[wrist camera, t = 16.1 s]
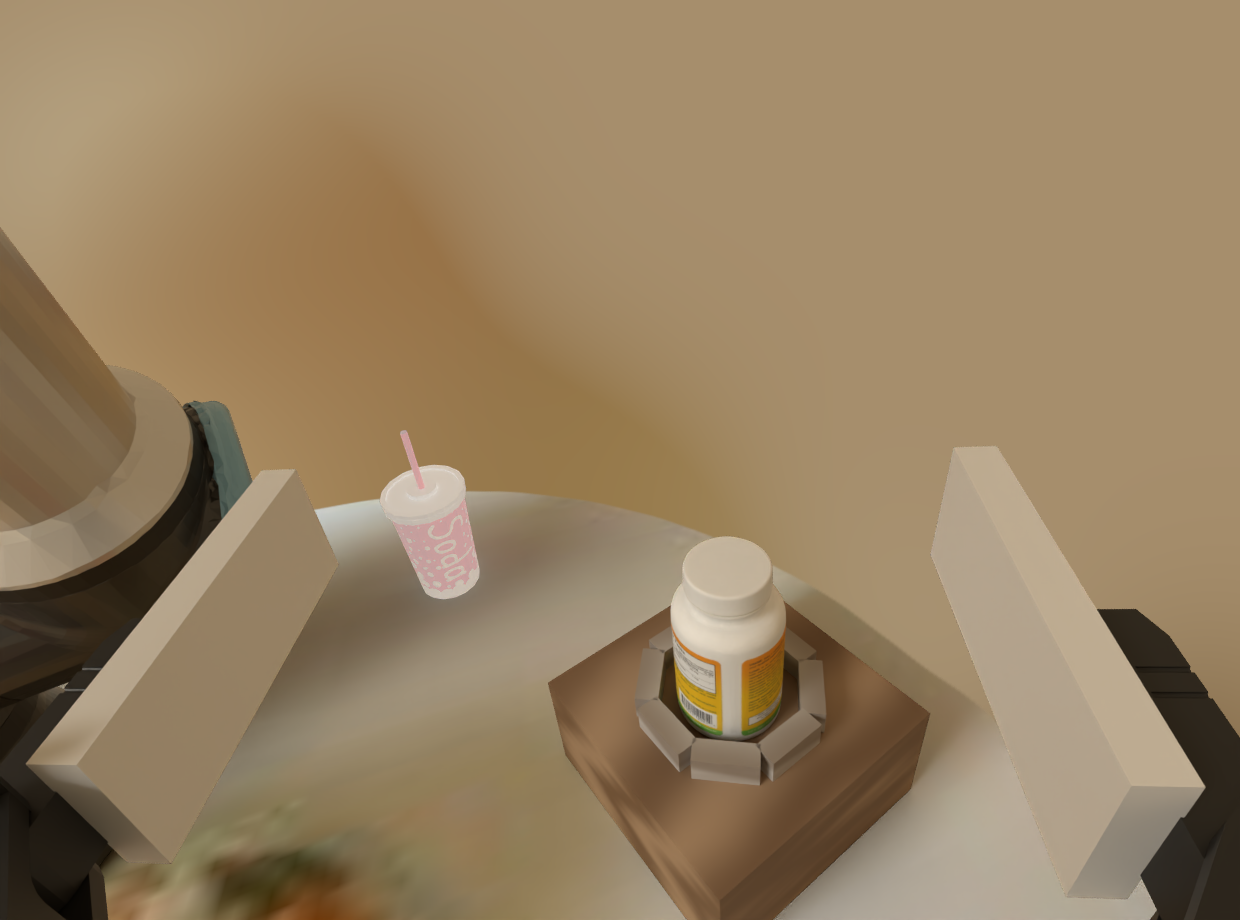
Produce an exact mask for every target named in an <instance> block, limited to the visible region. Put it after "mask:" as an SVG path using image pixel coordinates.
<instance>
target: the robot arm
mask: <svg viewBox="0 0 1240 920" xmlns="http://www.w3.org/2000/svg"><path fill="white" fill-rule="evenodd" d="M930 555H931V558H932V560H933V563H934V565H935V568H936V570H937V573H938V575H939V578H940V580H941V583H942V586H943V588H944V590H945V593H946V596H947V598H948V600H949V603H950V606H951V608H952V611H953V613H954V616H955V618H956V621H957V623H958V626H959V629H960V631H961V633H962V636H963V639H964V641H965V644H966V646H967V649H968V651H969V654H970V656H971V659H972V661H973V664H974V666H975V669H976V671H977V674H978V677H979V679H980V682H981V684H982V686H983V689H984V691H985V694H986V697H987V699H988V702H989V704H990V707H991V709H992V712H993V714H994V717H995V720H996V722H997V725H998V727H999V730H1000V732H1001V735H1002V737H1003V740H1004V742H1005V745H1006V747H1007V750H1008V752H1009V755H1010V757H1011V760H1012V762H1013V765H1014V768H1015V770H1016V773H1017V775H1018V778H1019V780H1020V783H1021V785H1022V788H1023V790H1024V793H1025V795H1026V798H1027V800H1028V803H1029V805H1030V808H1031V811H1032V813H1033V816H1034V818H1035V821H1036V823H1037V826H1038V828H1039V831H1040V833H1041V836H1042V838H1043V841H1044V843H1045V846H1046V848H1047V851H1048V853H1049V856H1050V859H1051V861H1052V864H1053V866H1054V869H1055V871H1056V874H1057V876H1058V879H1059V881H1060V884H1061V886H1062V889H1063V891H1064V894H1065V896H1066V897H1076V898H1103V899H1128V897H1129V896H1130V894H1131V893H1132V892H1133V890H1134V889H1135V887H1136V886H1137V884H1138V883H1139V882H1140V880H1141V879H1142V880H1143V882H1144V884H1145V886H1146V888H1147V890H1148V892H1149V894H1150V896H1151V898H1152V901H1153V903H1154V905H1155V907H1156V909H1157V911H1156V912H1155V914H1154V915H1153V916H1152V918H1151V919H1150V920H1240V737H1239V736H1238V735H1237V733H1236V732H1235V730H1234V729H1233V728H1232V726H1231V724H1230V723H1229V722H1228V720H1227V719H1226V718H1225V716H1224V714H1223V713H1222V711H1221V710H1220V709H1219V707H1218V706H1217V704H1216V703H1215V701H1214V700H1213V699H1210V698H1209V697H1208V691H1207V690H1206V688H1205V687H1204V685H1203V684H1202V682H1201V681H1200V680H1199V678H1198V677H1197V675H1196V674H1195V673H1192V672H1191V670H1190V665H1189V664H1188V662H1187V661H1186V659H1185V658H1184V657H1183V655H1182V654H1181V652H1180V651H1179V649H1178V648H1177V647H1176V645H1175V644H1174V642H1173V641H1172V639H1171V638H1170V636H1169V635H1168V634H1166V633H1165V632H1164V631H1162V630H1161V629H1160V628H1159V627H1158V626H1156V625H1155V624H1154V623H1153V622H1151V621H1150V620H1149V619H1148V618H1146V617H1145V616H1144V615H1143V614H1141V613H1140V612H1139V611H1138V610H1136V609H1096V607H1095V606H1094V604H1093V602H1092V601H1091V599H1090V598H1089V596H1088V594H1087V593H1086V591H1085V590H1084V588H1083V586H1082V585H1081V583H1080V581H1079V580H1078V578H1077V576H1076V575H1075V573H1074V571H1073V570H1072V568H1071V567H1070V565H1069V563H1068V562H1067V560H1066V558H1065V557H1064V555H1063V553H1062V552H1061V550H1060V549H1059V547H1058V545H1057V544H1056V542H1055V540H1054V539H1053V537H1052V536H1051V534H1050V532H1049V531H1048V529H1047V527H1046V526H1045V524H1044V523H1043V521H1042V519H1041V518H1040V516H1039V514H1038V513H1037V511H1036V509H1035V508H1034V506H1033V505H1032V503H1031V501H1030V500H1029V498H1028V496H1027V495H1026V493H1025V491H1024V490H1023V488H1022V487H1021V485H1020V483H1019V482H1018V480H1017V478H1016V477H1015V475H1014V474H1013V472H1012V470H1011V469H1010V467H1009V465H1008V464H1007V462H1006V460H1005V459H1004V457H1003V455H1002V454H1001V452H1000V451H999V449H998V447H997V446H978V447H954V448H953V452H952V457H951V461H950V466H949V471H948V475H947V480H946V485H945V489H944V494H943V499H942V503H941V508H940V513H939V517H938V522H937V527H936V531H935V536H934V540H933V545H932V550H931V554H930ZM338 565H339V564H338V562H337V560H336V557H335V555H334V553H333V551H332V548H331V546H330V544H329V542H328V540H327V537H326V535H325V533H324V531H323V528H322V526H321V524H320V522H319V520H318V517H317V515H316V513H315V511H314V508H313V506H312V504H311V502H310V499H309V497H308V495H307V493H306V491H305V488H304V486H303V484H302V482H301V480H300V477H299V475H298V473H297V471H296V469H289V470H262V471H261V472H260V473H259V474H258V476H257V477H256V478H255V479H254V481H253V482H252V478H251V475H250V472H249V469H248V466H247V463H246V460H245V457H244V454H243V451H242V448H241V444H240V441H239V438H238V435H237V432H236V429H235V426H234V423H233V420H232V417H231V414H230V412H229V410H228V409H227V407H226V406H225V405H224V404H222V403H220V402H217V401H209V402H203V403H200V402H197V401H194V402H191V403H186V404H185V405H184V406H183V407H182V406H181V404H179V402H178V401H177V400H176V398H175V397H174V396H173V395H172V393H171V392H169V391H168V390H167V389H166V388H165V387H163V386H162V385H161V384H160V383H158V382H156V381H154V380H153V379H151V378H149V377H147V376H145V375H142V374H140V373H138V372H135V371H132V370H129V369H125V368H121V367H117V366H110V365H105V364H104V362H103V361H102V360H101V358H100V357H99V356H98V354H97V353H96V352H95V350H94V349H93V348H92V347H91V345H90V344H89V343H88V341H87V340H86V339H85V337H84V336H83V335H82V333H81V332H80V331H79V330H78V328H77V327H76V326H75V324H74V323H73V322H72V320H71V319H70V318H69V316H68V315H67V314H66V313H65V311H64V310H63V309H62V307H61V306H60V305H59V303H58V302H57V301H56V300H55V298H54V297H53V296H52V294H51V293H50V292H49V290H48V289H47V288H46V286H45V285H44V284H43V283H42V281H41V280H40V279H39V277H38V276H37V275H36V273H35V272H34V271H33V270H32V268H31V267H30V266H29V265H28V263H27V262H26V261H25V259H24V258H23V256H22V255H21V254H20V253H19V251H18V250H17V249H16V247H15V246H14V245H13V243H12V242H11V241H10V239H9V238H8V237H7V235H6V234H5V233H4V232H3V230H2V229H1V228H0V920H108V914H107V903H106V893H105V883H104V876H103V874H102V872H101V869H100V867H99V865H100V864H101V863H102V861H103V860H104V859H105V858H106V856H107V855H108V854H109V852H110V851H111V850H112V848H113V849H114V850H115V851H116V852H117V853H118V854H119V855H120V856H121V857H122V858H123V859H124V860H125V861H126V862H134V863H161V864H172V862H173V860H174V858H175V857H176V855H177V853H178V851H179V849H180V848H181V846H182V844H183V842H184V840H185V839H186V837H187V835H188V833H189V831H190V830H191V828H192V826H193V824H194V823H195V821H196V819H197V817H198V815H199V814H200V812H201V810H202V808H203V806H204V805H205V803H206V801H207V799H208V798H209V796H210V794H211V792H212V790H213V789H214V787H215V785H216V783H217V781H218V780H219V778H220V776H221V774H222V773H223V771H224V769H225V767H226V765H227V764H228V762H229V760H230V758H231V756H232V755H233V753H234V751H235V749H236V747H237V746H238V744H239V742H240V740H241V739H242V737H243V735H244V733H245V731H246V730H247V728H248V726H249V724H250V722H251V721H252V719H253V717H254V715H255V714H256V712H257V710H258V708H259V706H260V705H261V703H262V701H263V699H264V697H265V696H266V694H267V692H268V690H269V688H270V687H271V685H272V683H273V681H274V680H275V678H276V676H277V674H278V672H279V671H280V669H281V667H282V665H283V663H284V662H285V660H286V658H287V656H288V655H289V653H290V651H291V649H292V647H293V646H294V644H295V642H296V640H297V638H298V637H299V635H300V633H301V631H302V629H303V628H304V626H305V624H306V622H307V621H308V619H309V617H310V615H311V613H312V612H313V610H314V608H315V606H316V604H317V603H318V601H319V599H320V597H321V596H322V594H323V592H324V590H325V588H326V587H327V585H328V583H329V581H330V579H331V578H332V576H333V574H334V572H335V571H336V569H337V567H338ZM68 682H69V683H68ZM65 683H68V684H67V685H66V686H65V689H62V688H60V687H58V686H60V685H62V684H65Z"/></svg>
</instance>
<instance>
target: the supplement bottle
mask: <svg viewBox="0 0 1240 920" xmlns="http://www.w3.org/2000/svg"><path fill="white" fill-rule="evenodd" d="M671 628H672V639H673V652H674V663H675V675H676V688H677V698H678V703H679V707H680V709H681V711H682V713H683V715H684V717H685V718H686V720H687V721H688V722H689V724H690V725H691V726H692V727H693V728H695V729H696V730H697V731H699V732H700V733H702V734H703V735H705V736H707V737H709V738H712V739H715V740H723V741H734V742H737V741H743V740H748V739H751V738H753V737H756V736H758V735H759V734H761V733H762V732H764V731H765V730H766V729H768V728H769V727H770V726H771V725H772V723H773V722H774V721H775V719H776V717H777V715H778V713H779V710H780V706H781V698H782V682H783V665H784V648H785V632H786V610H785V605H784V601H783V599H782V596H781V595H780V593H779V591H778V590H777V589H776V587H775V586H774V585H773V568H772V563H771V560H770V558H769V556H768V554H767V553H766V552H765V551H764V550H763V549H762V548H761V547H760V546H758V545H757V544H755V543H753V542H751V541H748V540H746V539H742V538H738V537H729V536H724V537H715V538H711V539H708V540H705V541H703V542H701V543H699V544H697V545H696V546H694V547H693V548H692V549H691V550H690V551H689V552H688V554H687V555H686V557H685V559H684V562H683V582H682V583H681V584H680V585H679V587H678V588H677V590H676V591H675V594H674V596H673V599H672V603H671Z"/></svg>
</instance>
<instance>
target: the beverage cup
mask: <svg viewBox="0 0 1240 920" xmlns="http://www.w3.org/2000/svg"><path fill="white" fill-rule="evenodd" d="M400 434H401V437H402V441H403V443H404V446H405V450H406V452H407V456H408V458H409V461H410V465H411V468H412V470H410V471H407V472H404V473H402V474H401V475H399V476H398V477H396V478H395V479H393V480H392V481H390V482H389V484H388V485H387V486H386V487H385V488H384V490H383V491H382V493H381V498H380V504H381V506H382V508H383V510H384V512H385V514H386V516H387V518H388V519H390V520H391V521H392V522H393V524H394V526H395V528H396V530H397V532H398V535H399V537H400V539H401V541H402V543H403V545H404V548H405V550H406V552H407V554H408V556H409V558H410V561H411V563H412V565H413V567H414V569H415V571H416V574H417V576H418V578H419V580H420V582H421V584H422V587H423V589H424V591H425V593H426V594H428V595H430V596H431V597H433V598H438V599H448V598H454V597H457V596H459V595H461V594H464V593H466V592H467V591H468V590H469V589H471V588H472V587H473V586H474V585H475V583H476V582H477V580H478V578H479V565H478V560H477V555H476V550H475V545H474V540H473V535H472V531H471V526H470V521H469V516H468V511H467V506H466V501H465V494H466V486H465V481H464V478H463V477H462V475H461V474H460V472H459V471H458V470H456V469H453V468H451V467H449V466H441V465H430V466H423V467H418V464H417V461H416V458H415V455H414V452H413V448H412V445H411V442H410V439H409V436H408V433H407V431H406V430H404V431H401V432H400Z"/></svg>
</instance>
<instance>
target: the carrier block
mask: <svg viewBox="0 0 1240 920" xmlns="http://www.w3.org/2000/svg"><path fill="white" fill-rule="evenodd" d="M784 605H785V610H786V632H785V648H784V665H783V682H782V698H781V706H780V710H779V713H778V715H777V717H776V719H775V721H774V722H773V723H772V725H771V726H770V727H769V728H768V729H766V730H765V731H764V732H762V733H761V734H759V735H758V736H756V737H753V738H751V739H748V740H743V741H737V742H734V741H723V740H715V739H712V738H709V737H707V736H705V735H703V734H702V733H700V732H699V731H697V730H696V729H695V728H693V727H692V726H691V725H690V724H689V722H688V721H687V720H686V718H685V717H684V715H683V713H682V711H681V709H680V707H679V703H678V698H677V688H676V675H675V663H674V652H673V639H672V628H671V606H669V607H668V608H666V609H665V610H663V611H661V612H660V613H658V614H657V615H655V616H653V617H652V618H650V619H649V620H647V621H645V622H644V623H642V624H641V625H639V626H637V627H636V628H634V629H633V630H631V631H630V632H628V633H626V634H625V635H623V636H622V637H620V638H618V639H617V640H615V641H614V642H612V643H610V644H609V645H607V646H606V647H604V648H602V649H601V650H599V651H598V652H596V653H595V654H593V655H591V656H590V657H588V658H587V659H585V660H583V661H582V662H580V663H579V664H577V665H575V666H574V667H572V668H571V669H569V670H568V671H566V672H564V673H563V674H561V675H560V676H558V677H556V678H555V679H553V680H552V681H550V682H548V685H549V689H550V693H551V697H552V701H553V705H554V709H555V713H556V718H557V722H558V726H559V730H560V734H561V738H562V742H563V746H564V750H565V754H566V756H567V757H568V759H569V760H570V762H571V763H572V764H573V766H574V767H575V768H576V770H577V771H578V772H579V774H580V775H581V776H582V778H583V779H584V781H585V782H586V783H587V785H588V786H589V787H590V789H591V790H592V791H593V793H594V794H595V795H596V797H597V798H598V800H599V801H600V802H601V804H602V805H603V806H604V808H605V809H606V810H607V812H608V813H609V815H610V816H611V817H612V819H613V820H614V821H615V823H616V824H617V825H618V827H619V828H620V829H621V831H622V832H623V834H624V835H625V836H626V838H627V839H628V840H629V842H630V843H631V844H632V846H633V847H634V849H635V850H636V851H637V853H638V854H639V855H640V857H641V858H642V859H643V861H644V862H645V863H646V865H647V866H648V868H649V869H650V870H651V872H652V873H653V874H654V876H655V877H656V878H657V880H658V881H659V883H660V884H661V885H662V887H663V888H664V889H665V891H666V892H667V893H668V895H669V896H670V897H671V899H672V900H673V902H674V903H675V904H676V906H677V907H678V908H679V910H680V911H681V912H682V914H683V915H684V916H685V918H686V919H687V920H773V919H774V918H775V917H776V916H777V915H778V914H779V913H780V912H781V911H782V910H783V909H784V908H785V907H786V906H787V905H788V904H790V903H791V902H792V901H793V900H794V899H795V898H796V897H797V896H798V895H799V894H800V893H801V892H802V891H803V890H804V889H805V888H806V887H808V886H809V885H810V884H811V883H812V882H813V881H814V880H815V879H816V878H817V877H818V876H819V875H820V874H821V873H822V872H823V871H824V870H826V869H827V868H828V867H829V866H830V865H831V864H832V863H833V862H834V861H835V860H836V859H837V858H838V857H839V856H840V855H841V854H842V853H844V852H845V851H846V850H847V849H848V848H849V847H850V846H851V845H852V844H853V843H854V842H855V841H856V840H857V839H858V838H859V837H860V836H862V835H863V834H864V833H865V832H866V831H867V830H868V829H869V828H870V827H871V826H872V825H873V824H874V823H875V822H876V821H877V820H878V819H879V818H881V817H882V816H883V815H884V814H885V813H886V812H887V811H888V810H889V809H890V808H891V807H892V806H893V805H894V804H895V803H896V802H897V801H899V800H900V799H901V798H902V797H903V796H904V795H905V794H906V793H907V792H908V791H909V790H910V789H911V785H912V781H913V777H914V773H915V770H916V766H917V762H918V758H919V754H920V750H921V747H922V743H923V739H924V735H925V731H926V727H927V723H928V720H929V716H930V713H929V712H928V711H926V710H925V709H924V708H922V707H921V706H920V705H918V704H917V703H916V702H915V701H913V700H912V699H911V698H909V697H908V696H907V695H905V694H904V693H903V692H901V691H900V690H899V689H898V688H896V687H895V686H894V685H892V684H891V683H890V682H888V681H887V680H886V679H885V678H883V677H882V676H881V675H879V674H878V673H877V672H875V671H874V670H873V669H871V668H870V667H869V666H868V665H866V664H865V663H864V662H862V661H861V660H860V659H858V658H857V657H856V656H854V655H853V654H852V653H851V652H849V651H848V650H847V649H845V648H844V647H843V646H841V645H840V644H839V643H838V642H836V641H835V640H834V639H832V638H831V637H830V636H828V635H827V634H826V633H824V632H823V631H822V630H821V629H819V628H818V627H817V626H815V625H814V624H813V623H811V622H810V621H809V620H808V619H806V618H805V617H804V616H802V615H801V614H800V613H798V612H797V611H796V610H794V609H793V608H792V607H791V606H789V605H788V604H787V603H785V602H784Z"/></svg>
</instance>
